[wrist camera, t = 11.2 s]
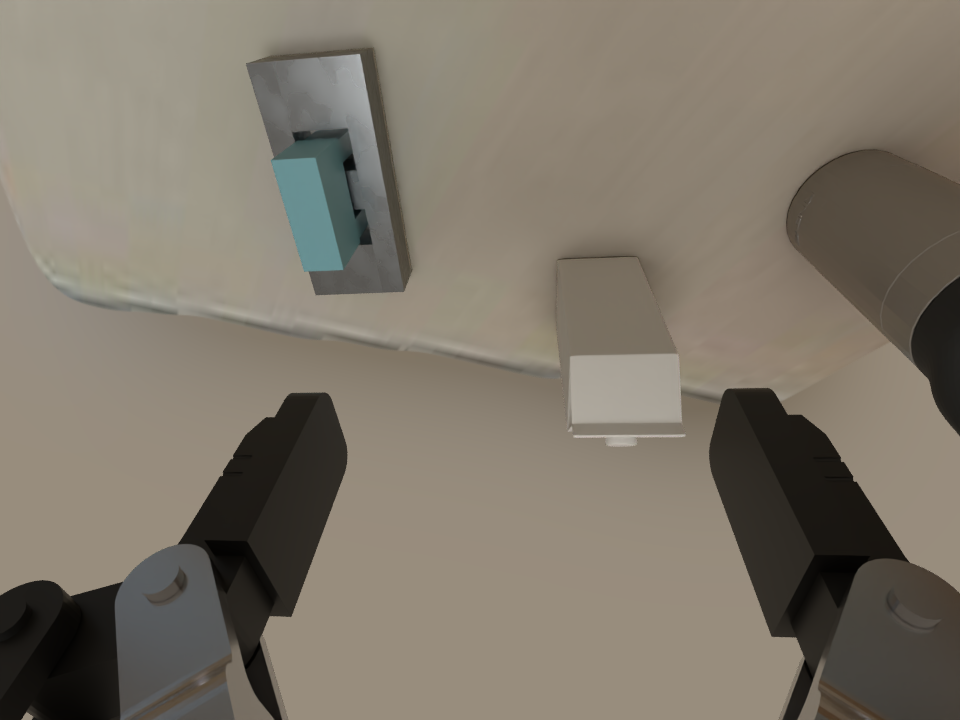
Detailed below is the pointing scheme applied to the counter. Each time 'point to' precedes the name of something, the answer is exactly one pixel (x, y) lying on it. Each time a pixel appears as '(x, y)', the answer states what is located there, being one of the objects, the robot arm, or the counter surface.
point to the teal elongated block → (320, 199)
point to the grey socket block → (369, 169)
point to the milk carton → (615, 353)
